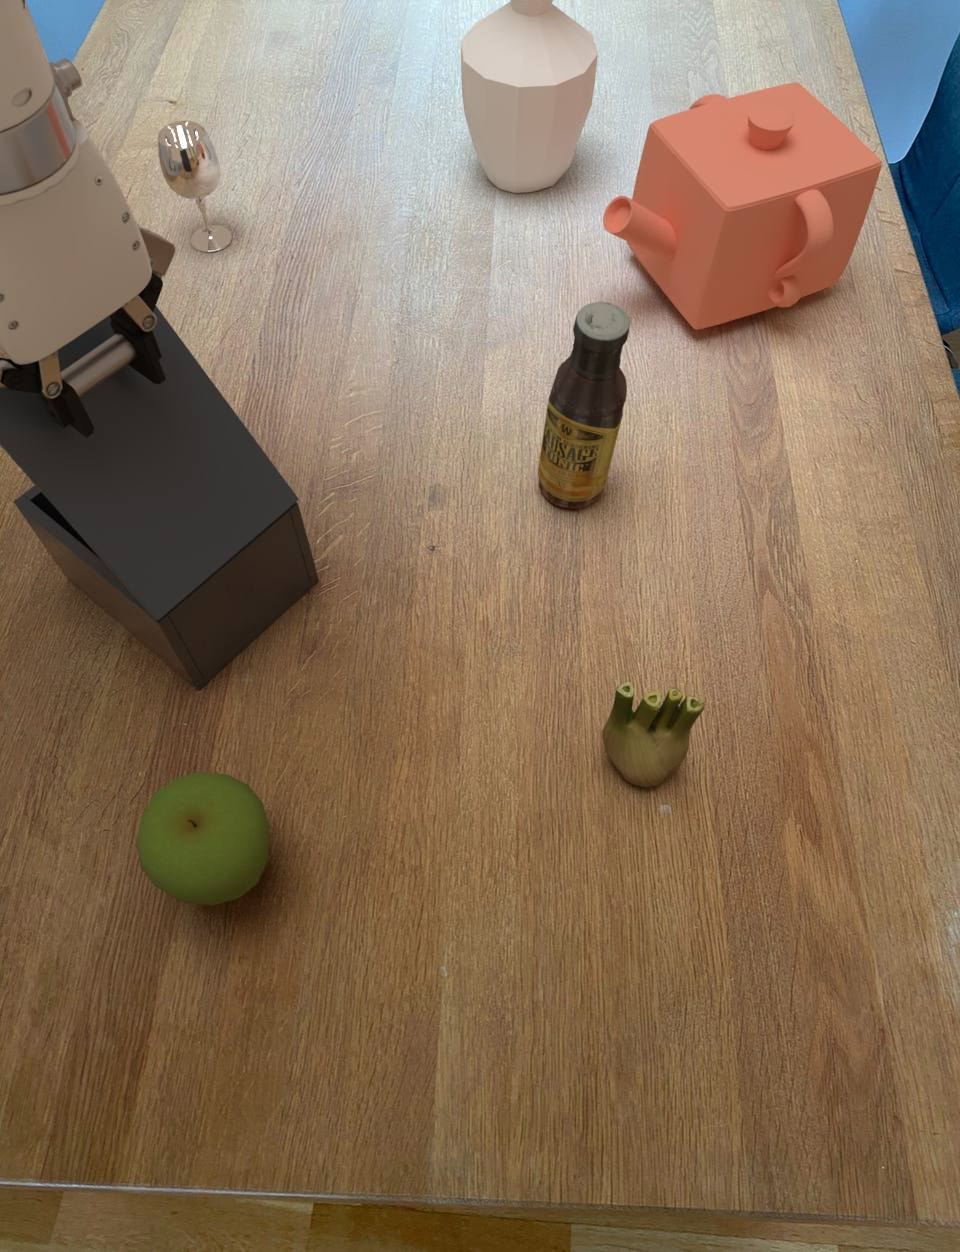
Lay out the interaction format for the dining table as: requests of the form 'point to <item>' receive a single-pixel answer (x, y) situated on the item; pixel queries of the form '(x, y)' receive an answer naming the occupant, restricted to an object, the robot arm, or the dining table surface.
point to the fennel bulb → (649, 734)
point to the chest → (211, 613)
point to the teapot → (746, 202)
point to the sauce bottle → (585, 409)
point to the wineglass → (193, 175)
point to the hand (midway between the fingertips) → (111, 396)
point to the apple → (204, 838)
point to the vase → (527, 92)
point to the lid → (147, 465)
